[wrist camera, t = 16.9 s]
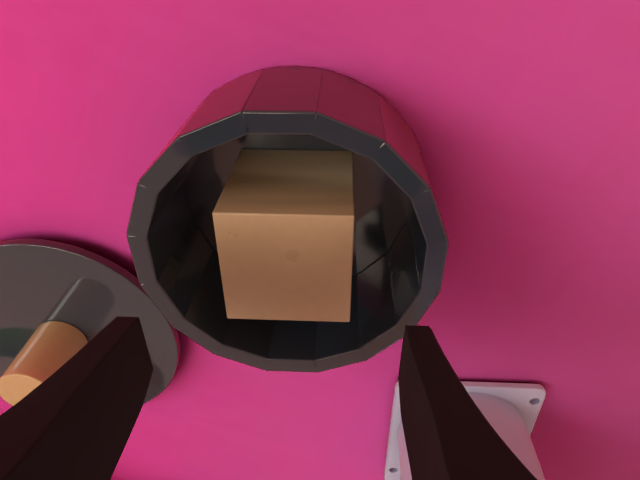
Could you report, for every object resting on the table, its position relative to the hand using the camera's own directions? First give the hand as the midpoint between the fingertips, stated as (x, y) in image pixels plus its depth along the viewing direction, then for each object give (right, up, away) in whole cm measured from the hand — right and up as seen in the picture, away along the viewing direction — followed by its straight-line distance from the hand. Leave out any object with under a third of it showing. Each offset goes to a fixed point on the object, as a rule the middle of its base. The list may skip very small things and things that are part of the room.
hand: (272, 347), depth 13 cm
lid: (-12, -2, +12) cm, 17 cm away
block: (0, +5, +7) cm, 8 cm away
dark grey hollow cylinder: (0, +5, +7) cm, 9 cm away
